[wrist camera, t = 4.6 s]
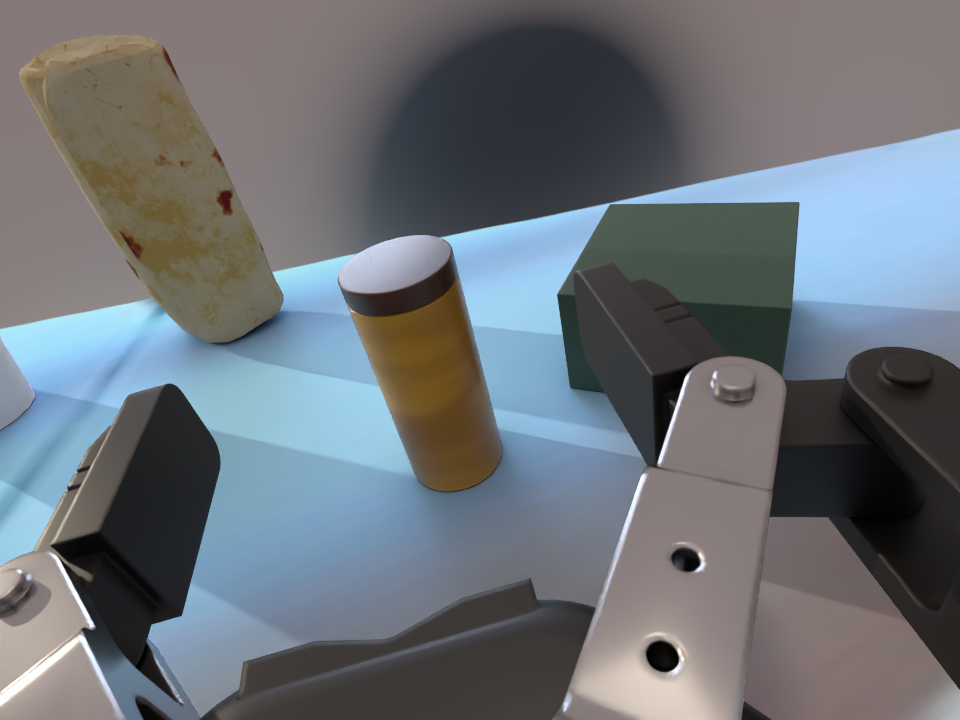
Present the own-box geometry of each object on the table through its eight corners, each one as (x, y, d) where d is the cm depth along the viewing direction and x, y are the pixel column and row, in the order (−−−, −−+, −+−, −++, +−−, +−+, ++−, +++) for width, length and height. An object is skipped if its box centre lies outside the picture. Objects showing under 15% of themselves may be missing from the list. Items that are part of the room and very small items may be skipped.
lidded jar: (479, 500, 26) (416, 298, 20) (396, 481, 28) (313, 290, 22) (516, 430, 29) (471, 235, 23) (438, 417, 31) (377, 234, 25)
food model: (302, 293, 47) (176, 13, 35) (277, 340, 42) (120, 29, 30) (192, 311, 48) (35, 48, 36) (155, 360, 43) (-43, 70, 31)
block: (776, 415, 27) (791, 308, 23) (569, 388, 31) (556, 294, 28) (786, 298, 34) (799, 201, 30) (615, 289, 38) (609, 203, 34)
